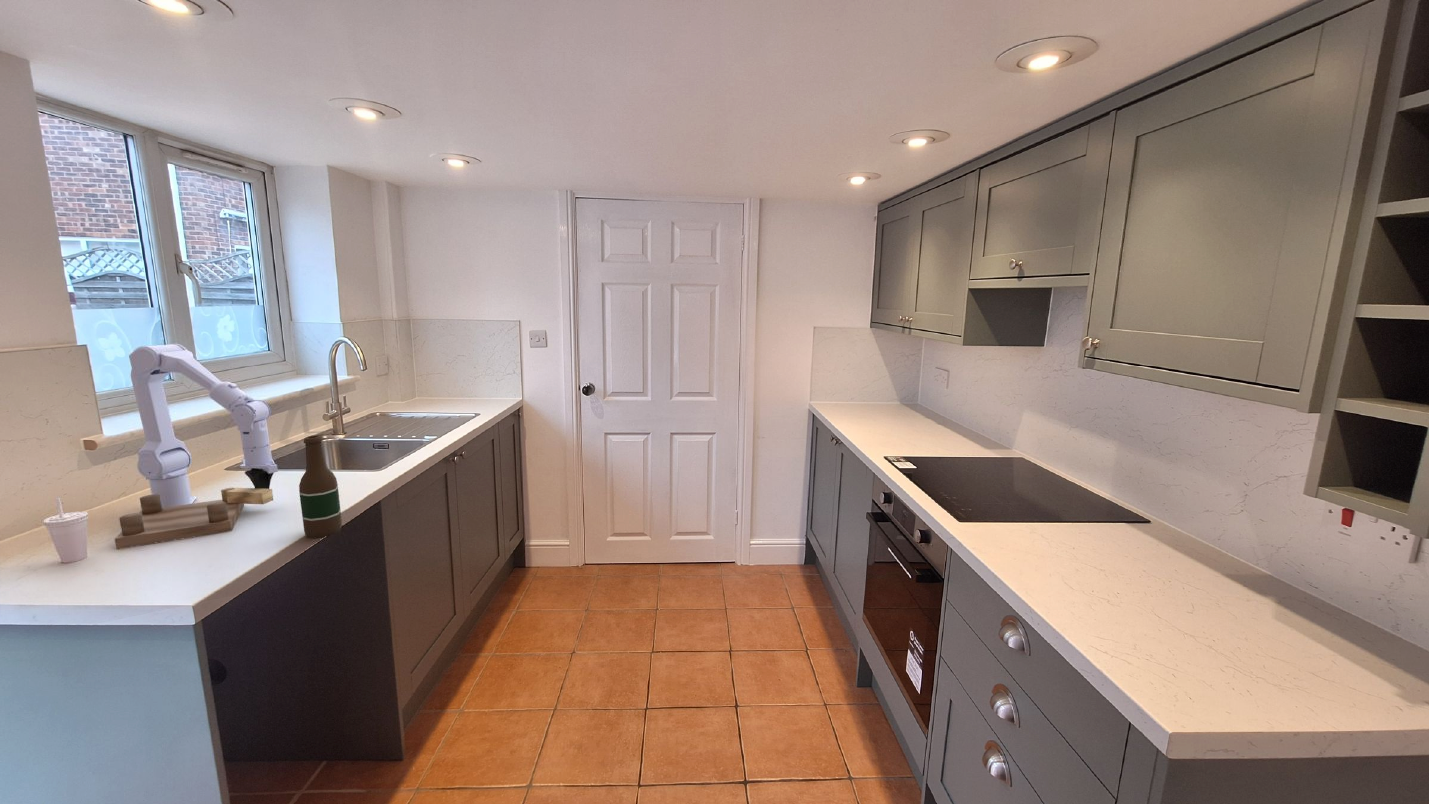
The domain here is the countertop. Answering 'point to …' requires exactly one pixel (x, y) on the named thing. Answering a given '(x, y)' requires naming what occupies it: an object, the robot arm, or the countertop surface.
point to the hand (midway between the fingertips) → (263, 494)
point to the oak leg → (247, 495)
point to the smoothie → (68, 534)
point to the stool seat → (175, 521)
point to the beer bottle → (319, 493)
